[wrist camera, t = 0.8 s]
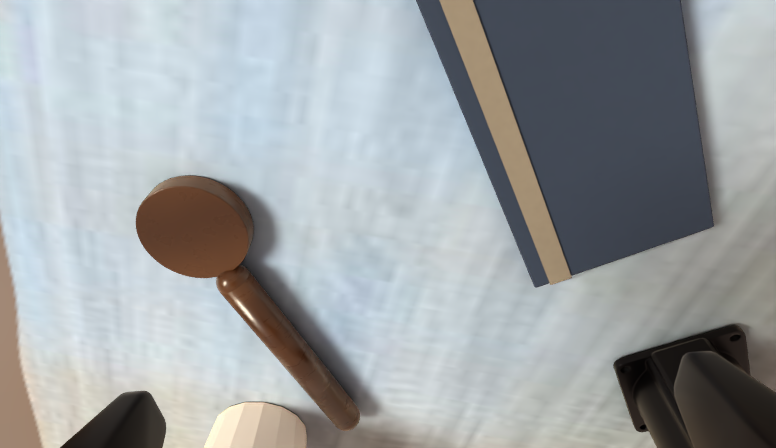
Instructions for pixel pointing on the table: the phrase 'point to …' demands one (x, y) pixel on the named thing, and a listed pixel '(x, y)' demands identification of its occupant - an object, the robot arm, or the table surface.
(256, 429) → the white tumbler
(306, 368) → the spoon
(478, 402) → the table surface
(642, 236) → the notebook
